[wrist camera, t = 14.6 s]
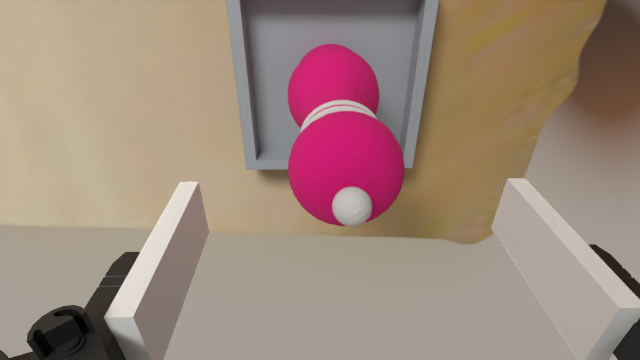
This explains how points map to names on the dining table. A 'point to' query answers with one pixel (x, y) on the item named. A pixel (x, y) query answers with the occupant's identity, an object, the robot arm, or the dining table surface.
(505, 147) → the dining table surface
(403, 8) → the tray
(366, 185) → the pepper mill
